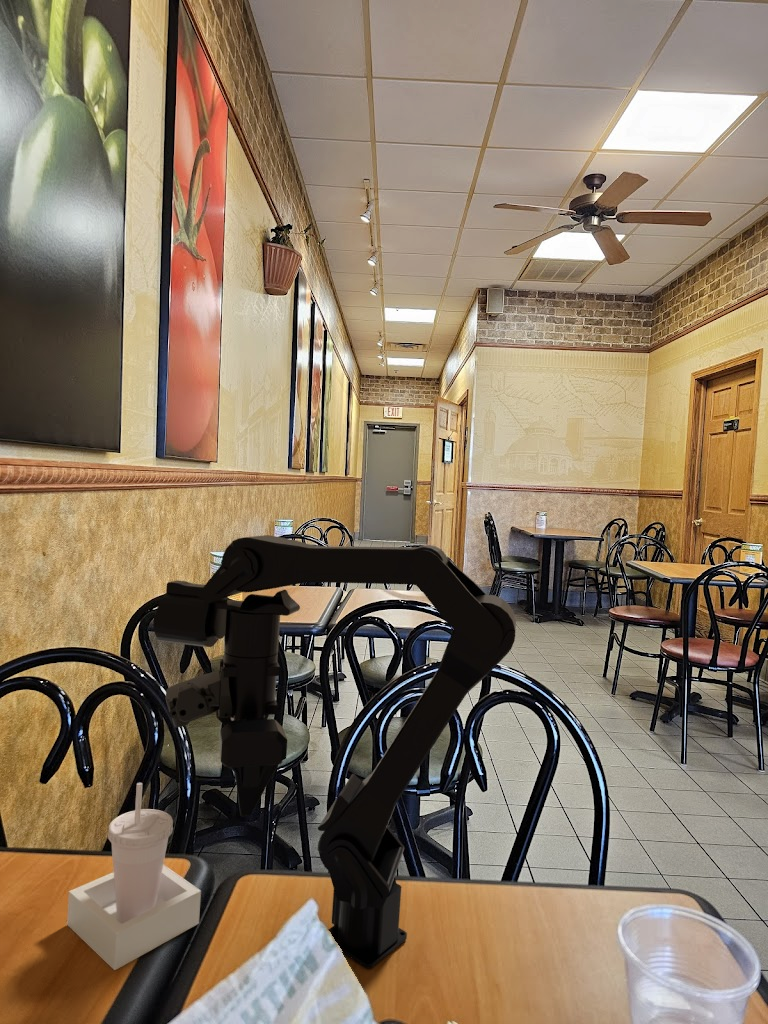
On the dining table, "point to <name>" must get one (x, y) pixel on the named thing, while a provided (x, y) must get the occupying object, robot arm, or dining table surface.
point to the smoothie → (138, 857)
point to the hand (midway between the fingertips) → (242, 794)
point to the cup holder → (141, 934)
